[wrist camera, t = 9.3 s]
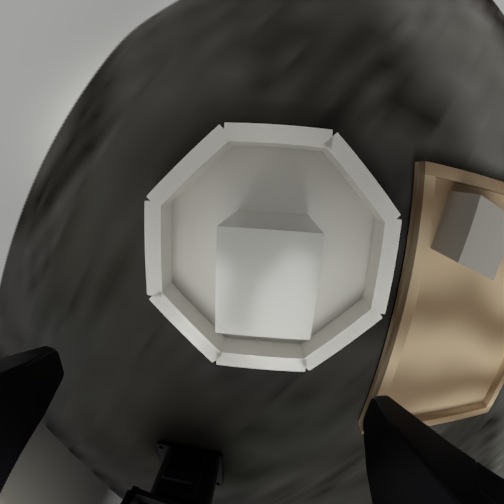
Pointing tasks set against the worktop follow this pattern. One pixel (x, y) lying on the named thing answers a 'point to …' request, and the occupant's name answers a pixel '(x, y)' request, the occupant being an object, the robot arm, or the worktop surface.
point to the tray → (443, 314)
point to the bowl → (279, 201)
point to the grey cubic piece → (471, 233)
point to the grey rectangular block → (267, 274)
